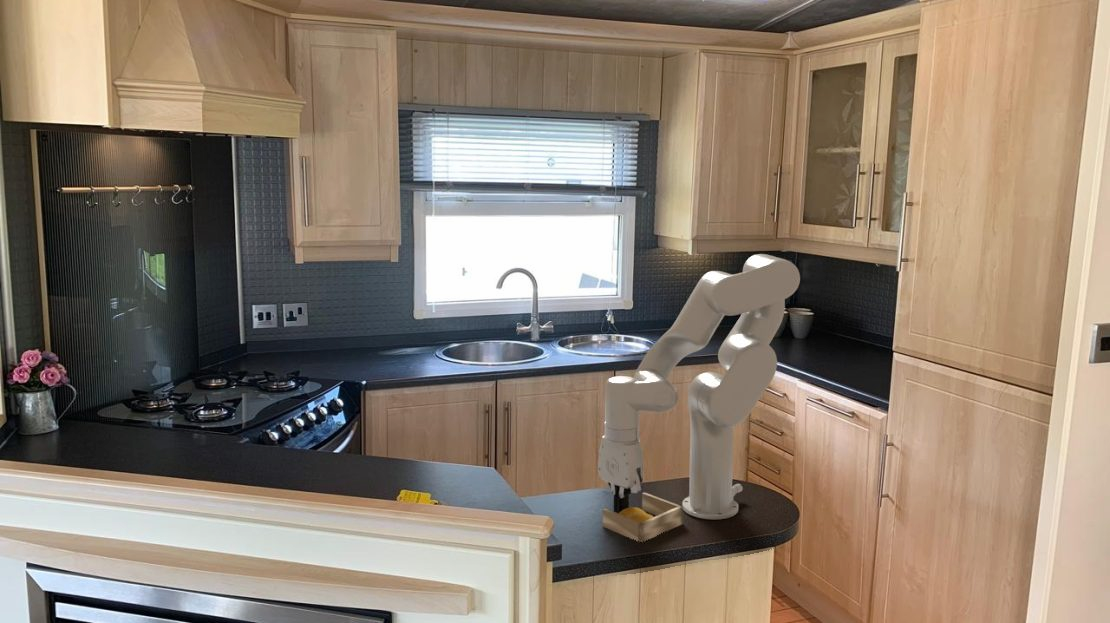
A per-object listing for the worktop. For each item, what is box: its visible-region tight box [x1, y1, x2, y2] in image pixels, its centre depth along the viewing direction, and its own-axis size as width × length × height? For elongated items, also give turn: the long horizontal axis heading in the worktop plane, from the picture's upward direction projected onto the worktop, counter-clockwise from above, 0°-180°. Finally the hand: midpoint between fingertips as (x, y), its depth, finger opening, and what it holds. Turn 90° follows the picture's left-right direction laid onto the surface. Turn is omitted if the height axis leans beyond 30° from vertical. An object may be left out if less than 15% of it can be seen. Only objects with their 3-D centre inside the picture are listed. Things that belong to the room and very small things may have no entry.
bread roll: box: [618, 506, 654, 523], centre depth 188 cm, size 8×9×4 cm
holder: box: [602, 492, 684, 543], centre depth 189 cm, size 14×11×4 cm
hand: (621, 511), depth 193 cm, fingers closed
